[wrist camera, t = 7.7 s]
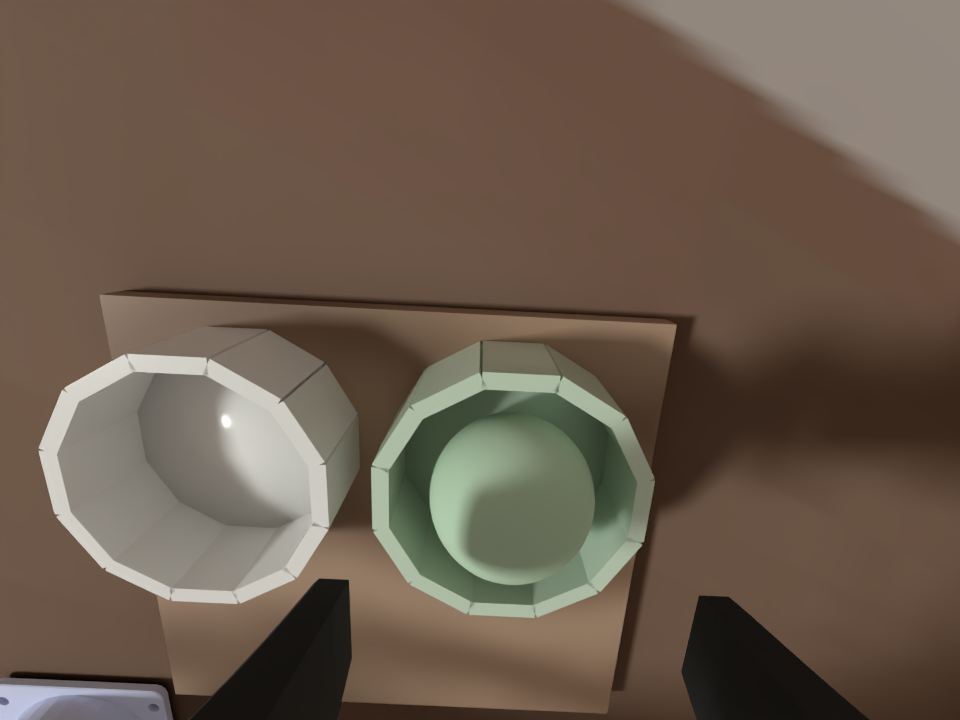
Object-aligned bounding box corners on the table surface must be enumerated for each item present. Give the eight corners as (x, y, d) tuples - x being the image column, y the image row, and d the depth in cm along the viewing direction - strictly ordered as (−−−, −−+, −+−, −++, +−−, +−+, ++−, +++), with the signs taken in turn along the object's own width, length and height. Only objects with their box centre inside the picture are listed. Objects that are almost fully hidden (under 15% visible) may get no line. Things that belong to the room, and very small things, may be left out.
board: (601, 691, 21) (607, 713, 20) (189, 673, 21) (175, 694, 20) (665, 318, 16) (676, 324, 15) (122, 290, 16) (99, 294, 15)
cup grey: (361, 536, 18) (333, 608, 14) (153, 526, 18) (75, 596, 14) (356, 333, 15) (320, 363, 12) (116, 321, 15) (12, 347, 12)
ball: (567, 516, 17) (604, 630, 12) (434, 511, 17) (418, 625, 12) (582, 392, 15) (630, 465, 11) (438, 386, 15) (422, 457, 11)
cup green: (601, 547, 18) (629, 622, 14) (394, 537, 18) (374, 610, 14) (631, 348, 15) (673, 381, 12) (394, 336, 15) (369, 366, 12)
